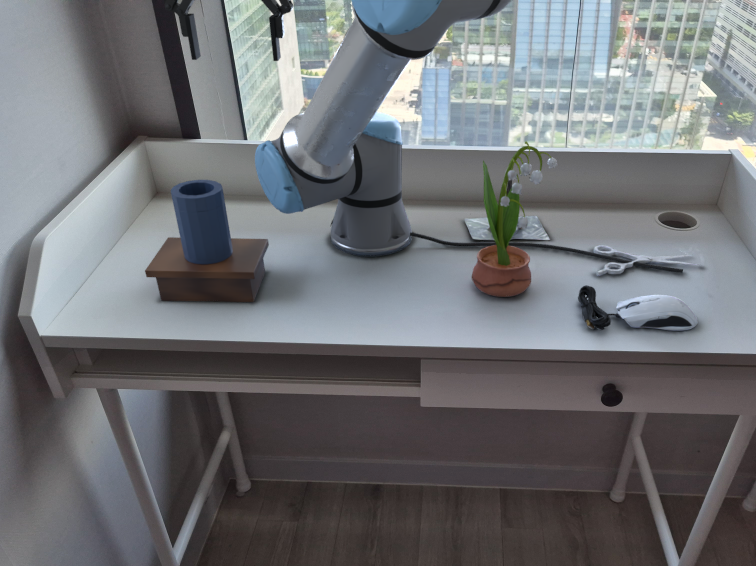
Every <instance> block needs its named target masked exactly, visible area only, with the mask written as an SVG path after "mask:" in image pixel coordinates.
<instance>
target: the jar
mask: <svg viewBox="0 0 756 566" xmlns="http://www.w3.org/2000/svg"><path fill="white" fill-rule="evenodd" d="M223 188H224V187H223V186H222V183H220V182H218V181H217V180H211V179H193V180H188V181H183V182H180V183H177V184H176V185H173V186H172V188H171V189H170V196H171V201H172V204H173V205H172V206H173V209H174V210H173V211H174V214H175V219H176V223H177V228H178V229H177V230H178V233H179V238H181V243H182V248H183V252H184V257H185V259H186V260H187V261H189V262H191V263H194V264H213V263H218V262H221V261H224V260H226V259H227V258H229V257H230V256H231V255H232V252H233V250H232V242H231V238H232V236H231V231H230V225H229V218H228V211H227V207H226V201H225V195H224V189H223Z"/></svg>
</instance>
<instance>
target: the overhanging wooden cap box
mask: <svg viewBox="0 0 756 566" xmlns="http://www.w3.org/2000/svg"><path fill="white" fill-rule="evenodd" d="M231 242H232V250H233V252H232V255H231V256H230V257H229V258H227V259H226V260H224V261H221V262H218V263H213V264H194V263H191V262H189V261H187V260H186V259H185V257H184V252H183V248H182V243H181V238H180V237H170V236H169V237H166V239H165V241H164V243H162V245H161V246H160V248H159V250H158V251H157V252H156V254H155V255H154V257H153V258H152V260H151V261H150V263H149V264H148V265H147V267H146V269H145V270H144V273H145V277H146V278H155V280H156V285H157V288H158V292H159V297H160V301H162V302H214V303H215V302H218V303H221V302H223V303H254V302H255V300H256V297H257V294H258V292H259V289H260V287H261V284H262V283H263V280H264V277H265V276H266V275H265V274H266V268H265V260H264V257H265V255H266V253H267V250H268V249H269V245H270V243H269V239H268V238H237V237H235V238H233V237H231Z"/></svg>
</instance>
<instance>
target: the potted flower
mask: <svg viewBox="0 0 756 566" xmlns="http://www.w3.org/2000/svg"><path fill="white" fill-rule="evenodd" d="M527 150H528V154H527V153H526V152H525V151H527ZM531 151H532V152H534V153H535V154H536V155H537V157H538V160H539V170H533V171H532V169H533V168H532V164H531V163H530V158H529V157H530V154H531ZM542 154H545V155H547V156H548V157H549V159H548V160H547V162H546V163H547V165H548V169H549V170H550V169H552V168H556V167H557V166H559V164H558V161H557V159H556V158H555V157H552V156H551V155H550V154H549V153H548V152H544V151H540V150H538V148H537V147H535V146H531V145H530V144H529V142H528V141H527V140H525V141H524V146H521V147H520V148H519V149H518V150H517V151H516V152H515V153H514V154H513V156H512V157H511V159H510V162H509V163H508V165H507V168H506V170H505V173H504V177H503V181H502V184H501V188H500V193H499V198H498V201H497V198H496V194H495V191H494V187H493V183H492V180H491V176H490V173H489V168H488V165H487V163H486V161H485V160H484V159H483V160H482V171H483V205H484V209H485V213H486V217H487V219H488V223H489V226H490V229H491V232H492V235H493V238H494V240H493V241H494V242H495V243H496V245H493V246H484V247H483V248H481V249H480V250H479V251H478V252H477V253H476V259H477V261H476V263H475V265H474V266H473V269H472V274H471V281H472V282H473V284H474V285H475V287H476V288H477V289H478V290H479V291H480V292H481V293H484V294H486V295H489V296H492V297H499V298H508V297H514V296H519V295H520V294H522V293H524V292H525V291H526V290H527V289H528V288H529V287H530V286H531V284H532V271H531V268H530V266H529V265H530V262H531V256H530V255H529V253H528V252H526V251H525V250H524V249H521V248H519V247H518V246H508V244H509V242H511V240H512V239H511V238H512V236H513V234H514V233H515V231H516V228H517V225H518V227H519V228H521V227H522V228H523V229H525V227H528V226H527V224H528V219H527V218H526V217H525V216H526V214H525V213H526V212H525V210H524V207H523V206H522V204H521V202H520V195H522V194H523V193H522V190H523V185H522V184H521V183H520V178H519V176H520V177H523V176H524V177H528V176H529V177H528V178H529V182H530V183H534V185H538V184H539V185H540V184H541V181H542V180H543V176H544V175H543V173H542V172H541V171H542V168H543V157H542ZM521 155H524V156H525V157H526V159H527V162H524V160H523V158H522V157H521ZM517 159H519V161H520V162H521V165H520V164H519V162H518V161H517ZM515 164H516V166H517V168H518V172H519V173H517V171H516V170H514V166H515ZM531 171H532V172H531ZM530 175H531V176H530ZM511 179H512V181H516V180H517V182H514V183H512V188H511V190H510V191H509V193H508V195H507V186H508V180H511ZM520 209H521V210H522V214H523V216H524V217H520V218H519V220H518V217H519V216H520ZM517 223H518V224H517Z"/></svg>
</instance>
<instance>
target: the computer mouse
mask: <svg viewBox="0 0 756 566" xmlns="http://www.w3.org/2000/svg"><path fill="white" fill-rule="evenodd" d="M596 298H597V292H596V289H595V288H594V287H593V286H591V285H587V284H586V285H583V286H581V287H580V289H579V291H578V296H577V300H578V302H579V303H580V305H581V314H582V317H583V321H584V322H585V323H586V326H587V327H588V328H589V329H590V330H594V329H597V330H600V331H603V330H605V328H608V327H610V325H611V323H612V320H611V316H614V317H615V318H618V319H623V320H624V321H625V322H626V323H627V324H628V325H629V326H630V328H640V329H641V328H645V329H647V328H648V329H657V330H658V329H659V330H663V331H676V332H679V331H680V332H681V331H690V330H691V329H694V327H696V326H697V325H698V323H699V319H698V317H697V315H696V313H695V312H694V311H693V309H692V308H691V307H690V306H689V305H688V304H687V303H686V302H685V301H684V300H682V299H680V298H678V297H676V296H674V295H668V294H649V295H641V296H635V297H631V298H627V299H624V300H621V301H618V302H617V305H616V310H617V312H616V313H607V312H605V310H603V309H602V308H601V307H599V306H598V304H597V299H596Z"/></svg>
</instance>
